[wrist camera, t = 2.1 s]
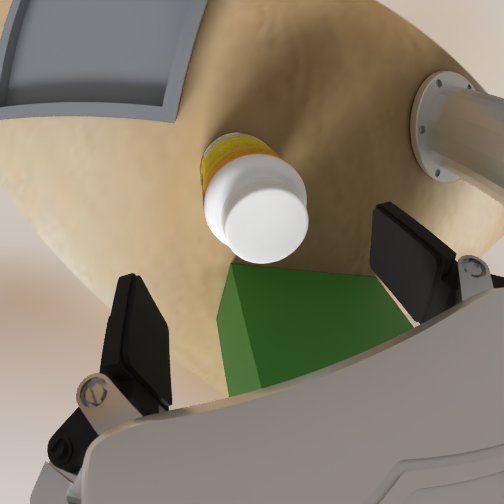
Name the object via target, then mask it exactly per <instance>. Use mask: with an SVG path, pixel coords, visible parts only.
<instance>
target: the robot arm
mask: <svg viewBox="0 0 504 504" xmlns="http://www.w3.org/2000/svg"><path fill="white" fill-rule="evenodd" d="M410 133H411V143H412V147H413V151H414V154H415V157H416V159H417V162H418V164H419V165H420V167H421V168H422V170H423V171H424V172H425V173H426V174H427V175H428V176H430V177H432V178H433V179H435V180H437V181H439V182H442V183H451V182H455V181H457V180H459V179H460V178H461V179H463V180H465V181H466V182H468V183H470V184H471V185H473V186H475V187H476V188H478V189H479V190H481V191H483V192H484V193H486V194H487V195H489V196H490V197H492V198H493V199H495V200H496V201H498V202H499V203H501V204H502V205H504V99H503V98H500V97H497V96H493V95H490V94H486V93H483V92H479V91H476V90H475V89H474V87H473V85H472V84H471V83H470V82H469V81H468V80H467V79H466V78H465V77H464V76H462V75H461V74H459V73H456V72H452V71H438V72H435V73H433V74H431V75H430V76H429V77H428V78H427V79H425V81H424V82H423V83H422V85H421V86H420V88H419V90H418V92H417V94H416V96H415V100H414V103H413V107H412V113H411V121H410ZM455 257H456V253H455V252H454V251H453V250H452V249H451V248H449V247H448V246H447V245H446V244H445V243H443V242H442V241H441V240H440V239H439V238H437V237H436V236H435V235H434V234H432V233H431V232H430V231H429V230H427V229H426V228H425V227H424V226H422V225H421V224H420V223H418V222H417V221H416V220H415V219H413V218H412V217H411V216H409V215H408V214H407V213H405V212H404V211H403V210H401V209H400V208H398V207H397V206H396V205H394V204H393V203H391V202H385V203H381V204H378V205H377V206H376V208H375V209H374V211H373V222H372V238H371V250H370V266H371V269H372V270H373V271H374V272H375V273H376V275H377V276H378V277H379V278H380V279H381V280H382V282H383V283H384V284H385V285H386V286H387V287H388V289H389V290H390V291H391V292H392V293H393V295H394V296H395V297H396V298H397V299H398V301H399V302H400V303H401V304H402V306H403V307H404V308H405V309H406V311H407V312H408V313H409V314H410V316H411V317H412V318H413V319H414V320H415V321H416V322H419V323H420V324H421V325H419V326H417V327H415V328H413V329H411V330H409V331H407V332H405V333H403V334H401V335H399V336H397V337H395V338H393V339H391V340H389V341H387V342H384V343H382V344H380V345H378V346H376V347H374V348H371V349H369V350H367V351H365V352H362V353H360V354H358V355H355V356H353V357H350V358H348V359H346V360H343V361H341V362H338V363H336V364H333V365H330V366H328V367H325V368H322V369H320V370H317V371H314V372H312V373H309V374H306V375H303V376H300V377H297V378H294V379H291V380H288V381H285V382H282V383H279V384H276V385H272V386H269V387H266V388H262V389H259V390H255V391H252V392H248V393H244V394H241V395H237V396H233V397H229V398H225V399H221V400H216V401H212V402H208V403H204V404H199V405H195V406H190V407H185V408H180V409H175V410H170V411H169V406H170V405H172V392H171V377H170V355H169V330H168V326H167V323H166V321H165V320H164V318H163V316H162V314H161V313H160V311H159V309H158V307H157V306H156V304H155V302H154V300H153V299H152V297H151V295H150V293H149V291H148V289H147V288H146V286H145V284H144V282H143V280H142V278H141V277H140V276H139V275H138V276H136V275H135V274H134V273H131V274H128V275H125V276H121V277H119V279H118V283H117V288H116V292H115V296H114V301H113V306H112V311H111V316H109V319H108V323H107V329H106V334H105V339H104V345H103V352H102V359H101V365H100V373H95V374H92V375H89V376H88V377H86V378H85V379H84V380H83V381H82V382H81V383H80V385H79V387H78V389H77V394H76V399H77V403H78V405H79V407H78V408H77V409H76V410H75V412H74V413H73V414H72V415H71V416H70V417H69V418H68V419H67V420H66V421H65V423H64V424H63V425H62V426H61V427H60V428H59V429H58V430H57V431H56V432H55V434H54V435H53V436H52V437H51V439H50V440H49V443H48V457H49V459H50V462H49V463H48V462H45V464H44V466H43V468H42V470H41V473H40V475H39V477H38V480H37V482H36V484H35V487H34V489H33V492H32V494H31V498H30V504H504V277H500V276H496V275H492V274H490V271H489V268H488V266H487V265H486V263H485V262H484V261H482V260H481V259H479V258H477V257H475V256H471V255H465V256H462V257H461V258H459V260H458V262H457V261H456V260H455Z"/></svg>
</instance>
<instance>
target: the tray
mask: <svg viewBox="0 0 504 504" xmlns="http://www.w3.org/2000/svg"><path fill="white" fill-rule="evenodd" d="M208 1H209V0H13V1H12V4H11V7H10V10H9V13H8V16H7V19H6V22H5V25H4V29H3V32H2V36H1V40H0V120H3V119H13V118H26V117H47V116H95V117H116V118H131V119H143V120H153V121H162V122H170V123H175V121H176V118H177V113H178V108H179V104H180V99H181V95H182V90H183V86H184V82H185V78H186V74H187V70H188V66H189V62H190V59H191V55H192V51H193V48H194V44H195V41H196V38H197V34H198V31H199V28H200V25H201V21H202V18H203V15H204V12H205V9H206V6H207V3H208Z"/></svg>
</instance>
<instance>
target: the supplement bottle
mask: <svg viewBox="0 0 504 504" xmlns="http://www.w3.org/2000/svg"><path fill="white" fill-rule="evenodd" d="M200 175H201V185H202V194H203V206H204V212H205V217H206V220H207V223H208V225H209V227H210V229H211V231H212V232H213V234H214V235H215V236H216V237H217V238H218V239H219V240H220V241H221V242H223V243H224V244H226V245H228V246H229V247H230V248H231V250H232V251H233V252H234V253H235V254H236V255H237V256H239V257H240V258H242V259H243V260H246V261H248V262H252V263H259V264H264V263H271V262H275V261H278V260H281V259H283V258H285V257H287V256H288V255H290V254H291V253H292V252H294V251H295V250H296V249H297V248H298V246H299V245H300V244H301V243H302V241H303V239H304V237H305V235H306V233H307V229H308V222H309V218H308V212H307V209H306V205H307V195H306V189H305V185H304V183H303V181H302V179H301V177H300V175H299V174H298V173H297V171H296V170H295V169H294V168H293V167H292V166H291V165H290V164H289V163H287V162H286V161H285V160H284V159H283V158H282V157H280V156H279V155H278V154H277V153H276V152H275V151H273V150H272V149H271V148H270V147H269V146H268V145H266V144H265V143H264V142H263V141H261V140H260V139H259V138H257V137H255V136H253V135H250V134H247V133H242V132H234V133H229V134H225V135H223V136H221V137H219V138H217V139H216V140H214V141H213V142H212V143H211V144H210V145H209V146H208V147H207V149H206V150H205V152H204V154H203V157H202V160H201V165H200Z"/></svg>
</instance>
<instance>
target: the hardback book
mask: <svg viewBox="0 0 504 504" xmlns="http://www.w3.org/2000/svg"><path fill="white" fill-rule="evenodd" d="M217 326H218V332H219V339H220V345H221V352H222V358H223V364H224V370H225V376H226V381H227V387H228V393H229V397H233V396H237V395H241V394H244V393H248V392H252V391H255V390H259V389H262V388H266V387H269V386H272V385H276V384H279V383H282V382H285V381H288V380H291V379H294V378H297V377H300V376H303V375H306V374H309V373H312V372H314V371H317V370H320V369H322V368H325V367H328V366H330V365H333V364H336V363H338V362H341V361H343V360H346V359H348V358H350V357H353V356H355V355H358V354H360V353H362V352H365V351H367V350H369V349H371V348H374V347H376V346H378V345H380V344H382V343H384V342H387V341H389V340H391V339H393V338H395V337H397V336H399V335H401V334H403V333H405V332H407V331H409V330H411V329H413V328H414V327H413V326H412V325H411V323H410V322H409V321H408V319H407V318H406V316H405V315H404V313H403V312H402V311H401V309H400V308H399V307H398V305H397V304H396V303H395V301H394V300H393V299H392V298H391V296H390V295H389V294H388V292H387V291H386V290H385V288H384V287H383V286H382V285H381V283H380V282H379V281H378V280H377V278H376V277H370V276H358V275H347V274H336V273H325V272H314V271H303V270H293V269H282V268H272V267H262V266H252V265H242V264H233V263H231V265H230V268H229V272H228V276H227V280H226V284H225V287H224V291H223V295H222V299H221V303H220V307H219V311H218V315H217Z"/></svg>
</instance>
